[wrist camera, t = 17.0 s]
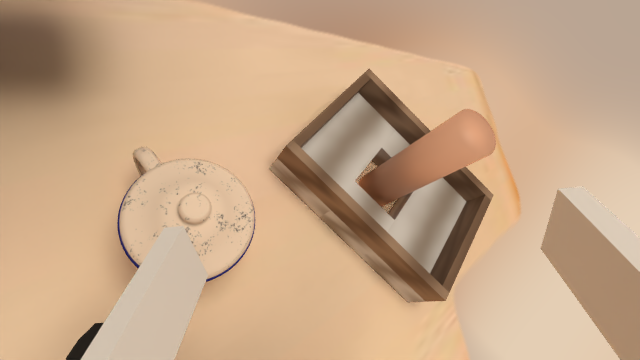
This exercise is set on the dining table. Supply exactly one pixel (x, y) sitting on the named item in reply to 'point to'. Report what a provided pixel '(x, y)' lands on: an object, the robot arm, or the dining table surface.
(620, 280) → the robot arm
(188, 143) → the dining table surface
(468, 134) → the peg
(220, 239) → the teacup with lid
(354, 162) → the box
